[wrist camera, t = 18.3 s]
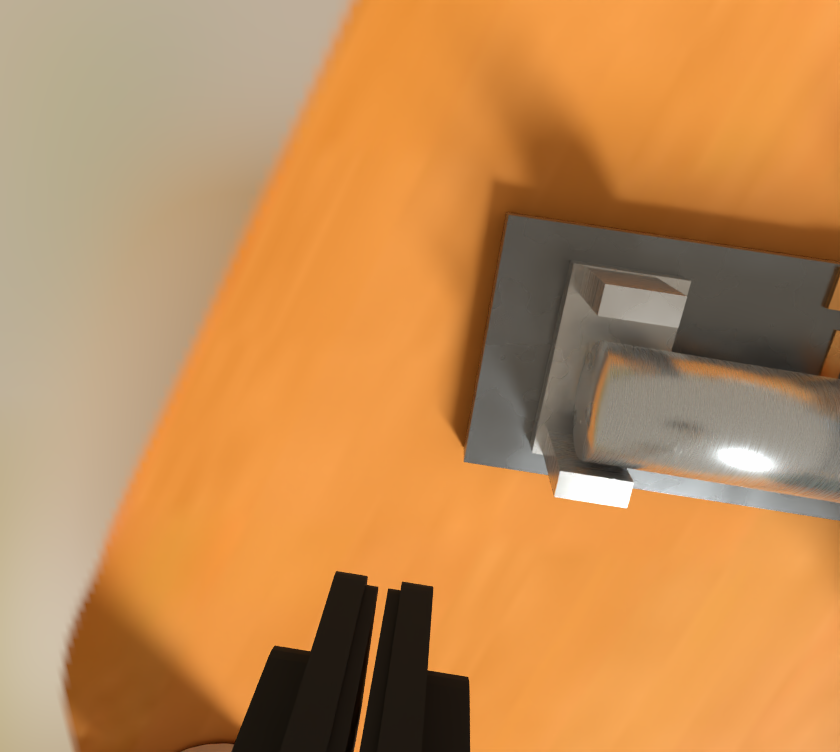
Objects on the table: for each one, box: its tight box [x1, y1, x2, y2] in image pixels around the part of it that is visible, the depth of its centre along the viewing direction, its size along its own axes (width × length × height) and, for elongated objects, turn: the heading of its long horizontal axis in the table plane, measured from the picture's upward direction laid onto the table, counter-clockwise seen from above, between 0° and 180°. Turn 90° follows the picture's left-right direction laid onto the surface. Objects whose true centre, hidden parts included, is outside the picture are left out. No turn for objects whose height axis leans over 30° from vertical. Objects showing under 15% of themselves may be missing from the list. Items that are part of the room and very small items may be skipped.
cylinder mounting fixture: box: [464, 212, 840, 521], centre depth 27 cm, size 25×12×6 cm, turn 83°
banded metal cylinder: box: [573, 341, 840, 503], centre depth 26 cm, size 18×5×5 cm, turn 82°
